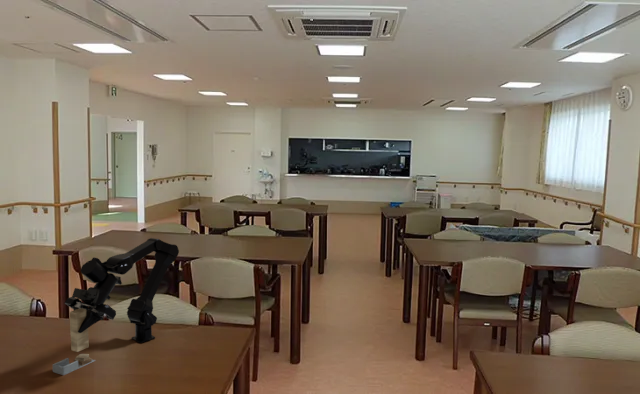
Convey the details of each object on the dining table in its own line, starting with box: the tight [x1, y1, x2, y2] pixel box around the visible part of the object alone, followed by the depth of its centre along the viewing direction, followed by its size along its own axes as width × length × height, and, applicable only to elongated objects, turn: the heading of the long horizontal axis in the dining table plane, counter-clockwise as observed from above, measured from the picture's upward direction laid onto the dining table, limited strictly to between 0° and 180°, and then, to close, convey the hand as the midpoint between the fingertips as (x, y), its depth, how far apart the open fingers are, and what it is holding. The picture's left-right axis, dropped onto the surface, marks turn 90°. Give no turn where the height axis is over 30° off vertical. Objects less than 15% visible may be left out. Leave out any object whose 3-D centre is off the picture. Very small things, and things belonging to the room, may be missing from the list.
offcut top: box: [75, 353, 90, 361], centre depth 159 cm, size 3×3×1 cm
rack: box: [52, 357, 97, 376], centre depth 157 cm, size 12×5×4 cm, turn 155°
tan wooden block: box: [68, 308, 90, 353], centre depth 157 cm, size 4×3×13 cm
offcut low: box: [73, 356, 93, 367], centre depth 159 cm, size 4×4×1 cm
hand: (75, 331), depth 156 cm, fingers closed on tan wooden block, 3 cm apart
